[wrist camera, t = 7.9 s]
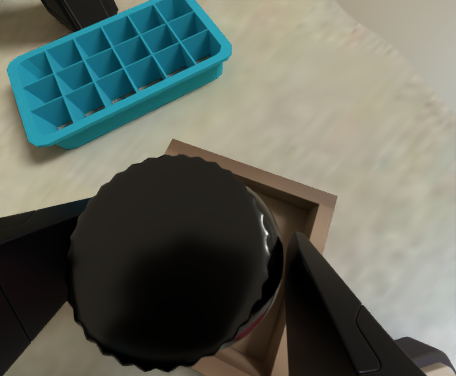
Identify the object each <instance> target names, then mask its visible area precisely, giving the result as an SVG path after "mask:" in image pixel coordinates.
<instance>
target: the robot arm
mask: <svg viewBox="0 0 456 376" xmlns="http://www.w3.org/2000/svg"><path fill="white" fill-rule="evenodd" d="M92 198H93V197H92ZM90 199H91V198H87V199H83V200H78V201H74V202H69V203H65V204H61V205H56V206H52V207H47V208H43V209H39V210H37V211H35V210H34V211H30V212H25V213H21V214H16V215H11V216H7V217H2V218H0V376H3V375H4V374H5V372H6V371H7V370H8V369H9V368H10V367H11V365H12V364H13V363H14V362H15V361H16V360H17V359H18V357H19V356H20V355H21V354H22V353H23V352H24V350H25V349H26V348H27V347H28V346H29V345H30V343H31V342H30V341H33V340H34V338H35V337H36V336H37V335H38V334H39V333H40V331H41V330H42V329H43V328H44V327H45V326H46V324H47V323H48V322H49V321H50V320H51V319H52V317H53V316H54V315H55V314H56V313H57V312H58V310H59V309H60V308H61V307H62V306H63V305H64V303H65V302H66V301H67V294H68V287H67V284H66V283H65V280H64V277H65V273H66V270H67V264H66V260H65V257H66V254H67V252H68V250H69V248H70V236H71V234H72V233H73V231H74V230H75V229H76V225H77V220H78V217H79V216H80V215H81V214H82V213H83V212H84V211H85V209H86V207H87V203H88V201H89V200H90ZM284 295H285V314H286V334H287V353H288V372H289V376H427V375H426V374H425V373H424V372H423V371H422V370H421V369H420V368H419V367H418V366H417V365H416V364H415V362H414V361H413V360H412V359H411V358H410V357H409V356H408V355H407V354H406V353H405V352H404V351H403V350H402V349H401V347H400V346H399V345H398V344H397V343H396V342H395V341H394V340H393V339H392V338H391V337H390V335H389V334H388V333H387V332H386V331H385V330H384V329H383V328H382V326H381V325H380V324H379V323H378V322H377V321H376V319H375V318H374V317H373V316H372V315H371V314H370V312H369V311H368V310H367V309H366V308H365V306H364V305H362V303H361V302H360V300H359V299H358V298H357V297H356V296H355V294H354V293H353V292H352V291H351V290H350V288H349V287H348V286H347V285H346V284H345V282H344V281H343V280H342V279H341V278H340V276H339V275H338V274H337V273H336V272H335V270H334V269H333V268H332V267H331V266H330V264H329V263H328V262H327V261H326V260H325V258H324V257H323V256H322V255H321V254H320V252H319V251H318V250H317V249H316V248H315V246H314V245H313V244H312V243H311V242H310V240H309V239H308V238H307V237H306V236H305V234H303V233H300V232H296V231H295V232H293V233H292V236H291V238H290V241H289V243H288V246H287V251H286V264H285V278H284Z"/></svg>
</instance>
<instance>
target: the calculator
mask: <svg viewBox="0 0 456 376" xmlns="http://www.w3.org/2000/svg"><path fill="white" fill-rule="evenodd" d="M395 342H396V343H397V344H398V345H399V346H400V347H401V349H402V350H403V351H404V352H405V353H406V354H407V355H408V356H409V357H410V358H411V359H412V360H413V361H414V362H415V364H416V365H417V366H418V367H419V368H420V369H421V370H422V371H423V372H424V373H425V374H426V375H427V376H456V371H455V369H454V367H453V366H452V364H451V362H450V360H449V358H448V357H447V355H446V354H445V353H444V352H442V351H441V350H438V349H436V348H434V347H432V346H429V345H427V344H424V343H422V342H420V341H417V340H415V339H413V338H410V337H404V338H401V339H398V340H395Z"/></svg>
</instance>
